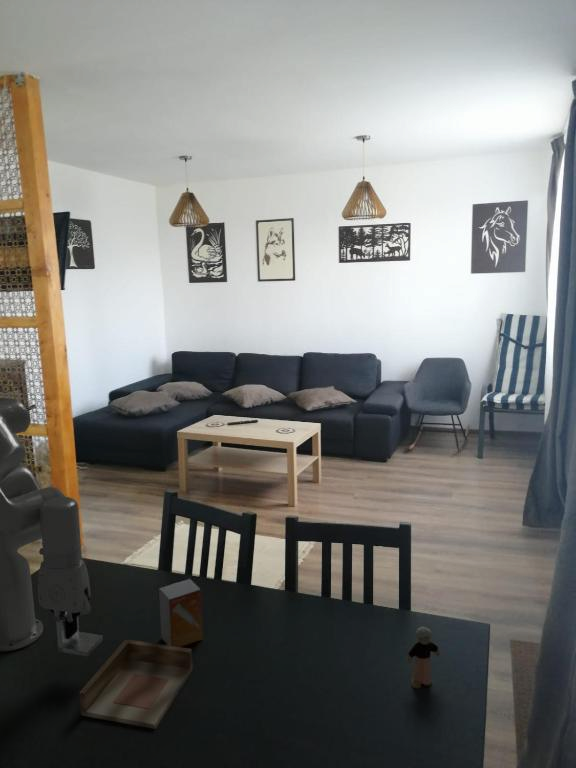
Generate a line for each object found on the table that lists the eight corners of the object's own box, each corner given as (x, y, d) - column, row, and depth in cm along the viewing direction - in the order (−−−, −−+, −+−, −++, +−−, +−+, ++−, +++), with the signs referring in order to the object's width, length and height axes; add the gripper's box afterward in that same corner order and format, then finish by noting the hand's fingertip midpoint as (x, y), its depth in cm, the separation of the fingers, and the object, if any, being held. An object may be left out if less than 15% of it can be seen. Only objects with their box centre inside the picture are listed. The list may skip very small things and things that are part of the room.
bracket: (58, 651, 129) (56, 621, 127) (74, 634, 134) (72, 606, 133) (87, 656, 127) (85, 626, 125) (103, 639, 133) (101, 610, 131)
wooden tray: (81, 715, 119) (79, 692, 119) (126, 659, 137) (125, 639, 136) (155, 729, 115) (153, 705, 115) (192, 669, 133) (191, 648, 132)
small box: (171, 651, 139) (168, 599, 137) (161, 638, 144) (158, 587, 142) (203, 639, 143) (201, 588, 141) (192, 626, 149) (189, 577, 146)
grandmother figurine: (414, 693, 124) (415, 637, 121) (402, 682, 127) (403, 627, 125) (443, 681, 127) (445, 626, 125) (431, 671, 130) (432, 617, 128)
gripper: (19, 560, 126) (26, 639, 129) (84, 569, 122) (90, 651, 126) (42, 543, 133) (48, 619, 136) (104, 552, 129) (109, 630, 133)
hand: (68, 634), depth 131 cm, fingers closed on bracket, 1 cm apart
